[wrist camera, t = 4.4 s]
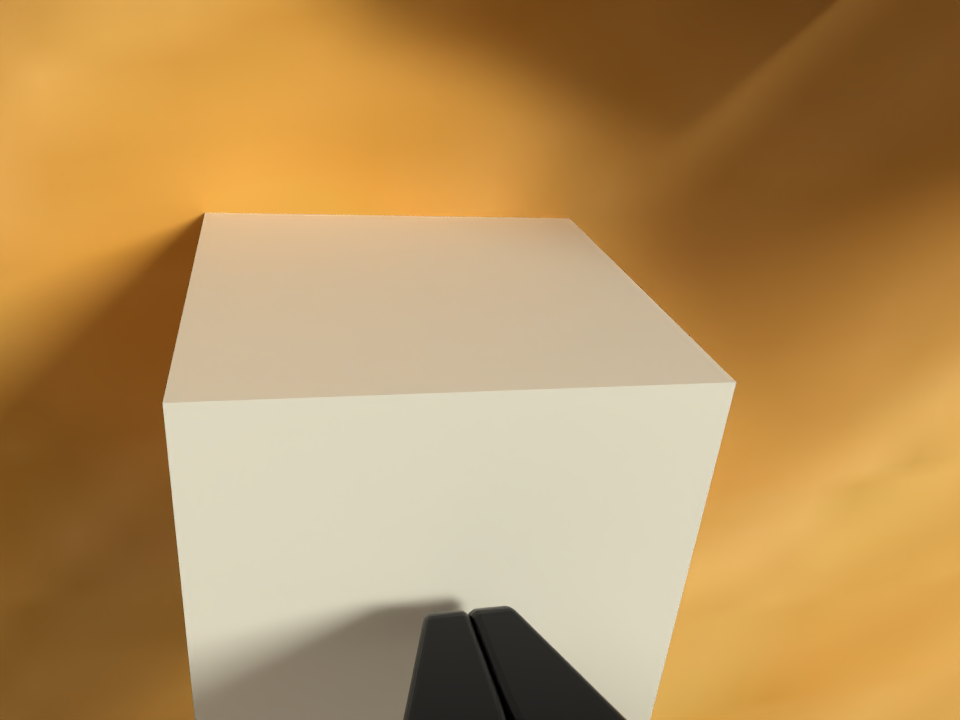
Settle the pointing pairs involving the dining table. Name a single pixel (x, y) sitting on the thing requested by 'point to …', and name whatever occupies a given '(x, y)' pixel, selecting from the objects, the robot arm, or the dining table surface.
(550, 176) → the dining table surface
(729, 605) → the dining table surface
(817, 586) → the dining table surface
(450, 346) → the cream block
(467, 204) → the dining table surface
